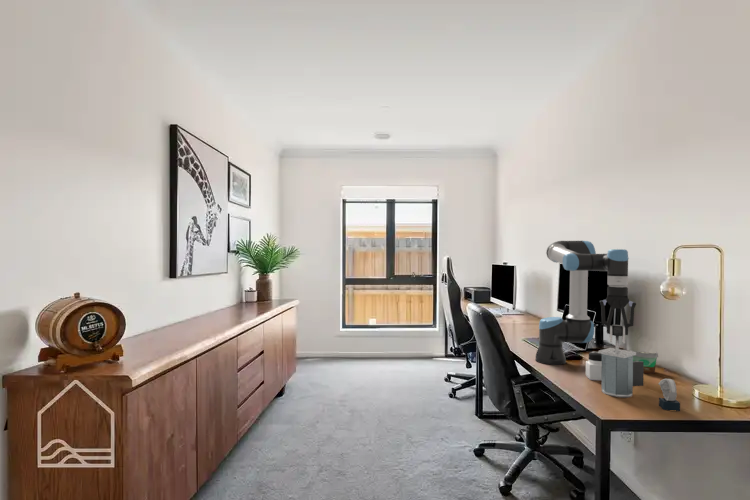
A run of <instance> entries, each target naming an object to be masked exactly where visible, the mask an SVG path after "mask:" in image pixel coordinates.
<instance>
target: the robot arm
mask: <svg viewBox="0 0 750 500" xmlns="http://www.w3.org/2000/svg"><path fill="white" fill-rule="evenodd" d="M545 251H546V252H545V254H546V257H547V258H548V259H549V261H551V262H553V263H557V264H558V263H559V264H562V267H563V269H564V270H566V271H569V303H568V305H569V307H568V308H569V309H568V314H567V315H566V316H565V319H563V318H562V317H561V316H548V317H543V318H541V319H540V320H539V323H538V331H539V332H538V348H537V351H536V354H535V361H536V362H538V363H541V364H545V365H554V366H557V365H565V364H566V363H567V359H566V355H565V352H564V349H563V348H564V347H563V343H578V344H586V343H590V342H591V341H592V340H593V338H594V334H595V323H594V322H593V320H591V317H590V316H588V287H589V286H588V283H589V282H588V280H589V279H588V277H589V271H591V272H592V271H593V272H594V271H595V272H596V271H597V272H598V271H599V272H607V287H606V288H607V289H606V291H607V292H606V293H607V295H606V298H605V299H603V300H599V303H600V308H601V324H602V325H604V326H606V333H607V335H609V343H613V335H612V325H611V324H612V319H613V316H614V313H615V312H614V311H615V309H620V312H621V317H622V321H623V325H624V326H623V336H621V340H622V341H621V342H622V344H626V336H628V335H629V328H630V327H633V326H634V319H635V317H634V316H635V307H636V305H637V303H636V302H635V301H631V300H630V298H629V288H628V287H627V286H628V285H629V259H630V258H629V251H628V250H627V249H622V248H621V249H620V248H619V249H618V248H617V249H611V248H610V249H608V250H607V253H596V249H595V246H594V243H593V242H591V241H588V240H557V241H555V242H552V243H551V244H549V245H548V247H547V248H546V250H545ZM606 304H608V305H609V307H610V308H609V313H608V317H607V320H606V307H605V306H606ZM627 305H628V306H629V318H627V314H626V310H625V307H626V306H627ZM628 319H629V322H628Z"/></svg>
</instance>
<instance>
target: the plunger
mask: <svg viewBox="0 0 750 500" xmlns="http://www.w3.org/2000/svg"><path fill="white" fill-rule="evenodd" d="M611 326H612V336H615V347H614V348H615V352H619V349H620V337H622V336H623V327H624V326H623V325H622V324H612V325H611Z"/></svg>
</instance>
